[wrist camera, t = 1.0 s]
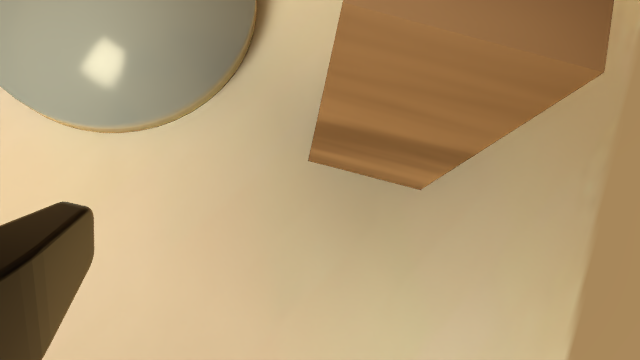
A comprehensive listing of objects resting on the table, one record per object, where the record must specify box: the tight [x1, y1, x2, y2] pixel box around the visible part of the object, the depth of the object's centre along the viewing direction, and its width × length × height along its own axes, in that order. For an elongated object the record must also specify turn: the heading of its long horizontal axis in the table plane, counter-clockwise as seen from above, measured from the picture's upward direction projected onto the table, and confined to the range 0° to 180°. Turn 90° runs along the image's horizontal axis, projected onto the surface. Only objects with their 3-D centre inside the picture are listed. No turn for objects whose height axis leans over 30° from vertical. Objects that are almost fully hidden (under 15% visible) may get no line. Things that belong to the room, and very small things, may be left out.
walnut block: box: [308, 0, 614, 190], centre depth 16 cm, size 5×5×12 cm
